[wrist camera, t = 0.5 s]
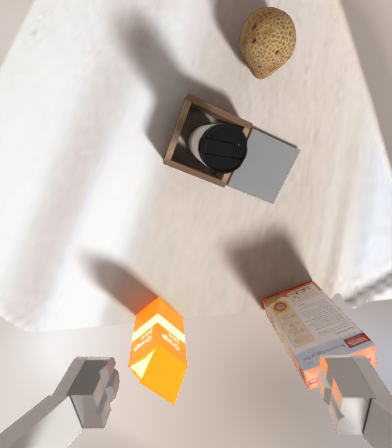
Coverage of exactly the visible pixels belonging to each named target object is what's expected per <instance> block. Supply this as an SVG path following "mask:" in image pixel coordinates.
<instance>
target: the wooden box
mask: <svg viewBox="0 0 392 448" xmlns="http://www.w3.org/2000/svg"><path fill="white" fill-rule="evenodd" d="M190 106H191V107H193V108H195V109H197V110H199V111H202V112H204V113H206V114H208V115H210V116H212V117H215V118H217V119H219V120H221V121H223V122H225V123H228V124H233V125H235V126H237V127H239V128H240V129H241V130H242V131H243V132H244V134H245V136H246V137H247V135H248V133H249V131H250V128H251V126H252V123H250V122H248V121H246V120H243V119H241V118H239V117H237V116H235V115H233V114H231V113H229V112H227V111H224V110H222V109H220V108H218V107H216V106H214V105H212V104H210V103H207V102H205V101H203V100H201V99H199V98H197V97H195V96H193V95H191V94H188V95H187V96H186V98H185V101H184V104H183V107H182V109H181V112H180V115H179V118H178V121H177V123H176V126H175V129H174V132H173V135H172V137H171V140H170V143H169V146H168V149H167V151H166V154H165V157H164V160H163V164H166V165H168V166H171V167H173V168H176V169H178V170H181V171H183V172H186V173H188V174H191V175H193V176H196V177H199V178H201V179H204V180H206V181H209V182H211V183H214V184H216V185H219V186H221V187H225V185H226V183H227V180H228V178H229V176H230V174H231V173H228V174H219V173H216V175H214V174H211V173H209V172H206V171H204V170H201V169H199V168H196V167H194V166H191V165H189V164H186V163H184V162H181V161H179V160H177V159H174V158H172V155H173V152H174V150H175V147H176V144H177V141H178V139H179V136H180V133H181V130H182V128H183V125H184V122H185V120H186V117H187V114H188V111H189V109H190Z"/></svg>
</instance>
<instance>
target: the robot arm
mask: <svg viewBox="0 0 392 448" xmlns="http://www.w3.org/2000/svg"><path fill="white" fill-rule="evenodd" d="M319 363H320V366H321V369H320V370H319V371H318V384H319V389H320V392H321V395H322V398H323V400H324V401H325V402H326V403H327V404H328V405H329V411H328V413H329V416H330V418H331V421H332V423H333V426H334V428H335V431H336V434H355V435H363V437H364V438H365V439H366V440H367V441H368V442H369V443H370V444H371V446H372V447H373V448H392V395H391V394H390V392H389V391H388V389H387V388H386V386H385V385H384V383H383V381H382V380H381V378H380V377H379V375H378V374H377V372H376V371H375V369H374V368H373V366H372V365H371V363H370V361H369V360H368V358H367V357H366V356H364V355H325V356H321V357H320V361H319ZM115 364H116V363H115V360H114V358H113V357H76V358H75V359H74V360H73V362H72V363H71V365H70V367H69V368H68V370H67V372H66V373H65V375H64V377H63V379H62V380H61V382H60V383H59V385H58V387H57V388H56V390H55V392H54V393H53V395H52V396H47V397H46V398H45V399H44V400H42V401H41V402H40V403H39V404H37V405H36V406H35V407H33V408H32V409H31V410H30V411H28V412H27V413H26V414H25V415H23V416H22V417H21V418H20V419H18V420H17V421H16V422H14V423H13V424H12V425H11V426H9V427H8V428H7V429H6V430H4V431H3V432H2V433H1V434H0V448H67V447H68V446H69V445H70V444H71V443H72V441H73V440H74V439H75V438H76V437H77V436H78V435H79V433H80V432H81V431H82V430H83V429H82V428H104V427H105V425H106V422H107V419H108V417H109V414H110V411H111V407H110V402H111V401H112V400H113V399H114V398H115V397H116V394H117V392H118V387H119V373H118V371H117V370H116V369H114V366H115Z"/></svg>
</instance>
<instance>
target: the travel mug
mask: <svg viewBox="0 0 392 448" xmlns="http://www.w3.org/2000/svg"><path fill="white" fill-rule="evenodd" d="M188 147H189V149H190V151H191V153H192V154H193V155H194V156H195V157H196V158H197V159H199V160H200V161H201V162H202V163H203V164H204V165H205V166H206V167H208V168H209V169H210V170H212V171H214V172H215V173H219V174H228V173H231V172H234V171H235V170H237V169H238V168H239V167H240V166H241V165H242V163H243V161H244V159H245V158H246V155H247V150H248V148H247V138H246V136H245V134H244V132H243V131H242V130H241V129H240V128H239V127H237V126H235V125H233V124H228V123H225V124H223V123H220V124H211V125H202V126H198V127H196V128H195V129H194V130H192V132H191V133H190V135H189V138H188Z"/></svg>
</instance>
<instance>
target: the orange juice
mask: <svg viewBox="0 0 392 448" xmlns="http://www.w3.org/2000/svg"><path fill="white" fill-rule="evenodd" d="M128 367H129V368H130V369H131V370H132V371H133V373H134V374H135V375H136V377H137V378H138V379H139V380H140V383H141V384H143V385H144V386H146V387H147V388H149V389H150V390H152V391H153V392H155V393H156V394H158V395H159V396H161V397H163V398H164V399H166V400H167V401H169V402H170V403H172V404H173V405H174V404H175V401H176V398H177V395H178V392H179V389H180V386H181V383H182V380H183V378H184V375H185V372H186V369H187V360H186V350H185V336H184V327H183V317H182V316H181V315H179V314H178V313H177V312H176V311H175V310H174V309H172V308H171V307H170V306H169V305H168V304H166V303H165V302H164V301H163V300H162V299H160V298H159V297H158V298H157V299H155V300H154V301H153V302H152V303H150V304H149V305H148V306H147V307H146V308H144V309H143V310H142V311H141V312H140V313H138V314H137V315H136V320H135V327H134V333H133V338H132V346H131V352H130V359H129V365H128Z"/></svg>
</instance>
